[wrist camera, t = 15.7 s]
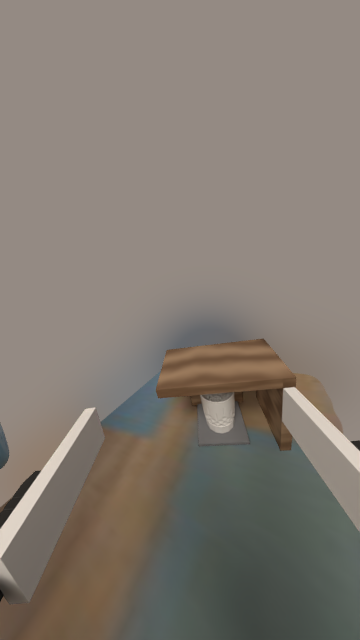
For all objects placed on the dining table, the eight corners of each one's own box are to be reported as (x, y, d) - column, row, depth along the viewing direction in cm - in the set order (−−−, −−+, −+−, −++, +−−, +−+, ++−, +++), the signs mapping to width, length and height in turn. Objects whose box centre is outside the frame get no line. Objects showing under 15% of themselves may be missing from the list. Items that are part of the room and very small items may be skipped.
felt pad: (250, 444, 37) (249, 442, 36) (198, 446, 38) (198, 444, 38) (237, 402, 47) (237, 400, 47) (197, 405, 48) (197, 403, 48)
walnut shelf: (291, 450, 34) (296, 377, 28) (174, 454, 37) (155, 389, 31) (263, 395, 48) (262, 337, 41) (179, 401, 51) (167, 349, 45)
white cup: (219, 402, 47) (215, 372, 44) (244, 421, 41) (242, 388, 37) (197, 419, 43) (192, 388, 40) (221, 443, 37) (216, 409, 34)
